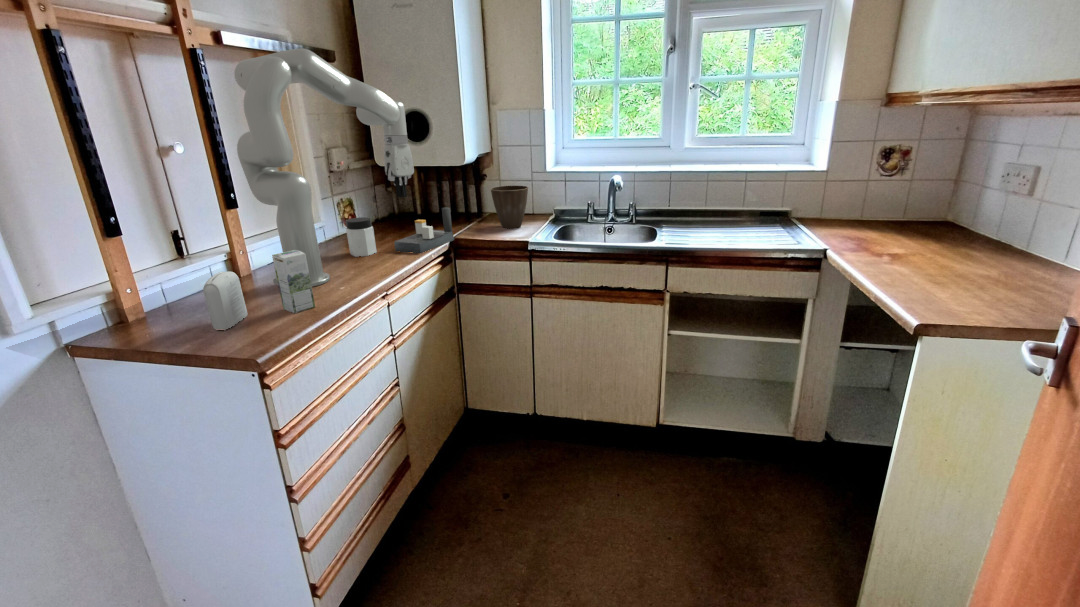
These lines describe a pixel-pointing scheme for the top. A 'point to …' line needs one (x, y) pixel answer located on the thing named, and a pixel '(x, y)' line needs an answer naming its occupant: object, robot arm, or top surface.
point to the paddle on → (419, 225)
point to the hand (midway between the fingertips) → (401, 196)
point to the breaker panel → (423, 242)
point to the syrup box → (294, 281)
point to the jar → (360, 237)
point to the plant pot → (510, 205)
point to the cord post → (447, 219)
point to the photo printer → (224, 300)
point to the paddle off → (427, 232)
